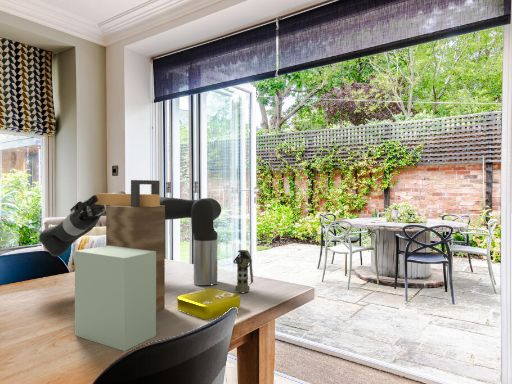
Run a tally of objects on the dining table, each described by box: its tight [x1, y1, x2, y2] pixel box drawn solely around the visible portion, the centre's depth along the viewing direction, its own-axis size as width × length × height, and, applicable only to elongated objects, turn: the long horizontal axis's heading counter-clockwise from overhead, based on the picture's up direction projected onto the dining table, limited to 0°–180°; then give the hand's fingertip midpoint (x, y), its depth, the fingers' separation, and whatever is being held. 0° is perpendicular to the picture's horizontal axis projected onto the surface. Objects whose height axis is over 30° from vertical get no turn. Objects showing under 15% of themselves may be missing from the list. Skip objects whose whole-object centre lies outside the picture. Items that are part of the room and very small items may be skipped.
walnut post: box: [105, 205, 166, 312], centre depth 112 cm, size 12×12×32 cm
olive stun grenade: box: [233, 249, 254, 293], centre depth 132 cm, size 6×7×15 cm
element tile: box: [176, 287, 241, 321], centre depth 115 cm, size 15×15×5 cm
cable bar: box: [95, 192, 161, 207], centre depth 114 cm, size 24×4×4 cm, turn 61°
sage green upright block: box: [74, 245, 157, 352], centre depth 94 cm, size 18×10×22 cm, turn 61°
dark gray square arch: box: [130, 179, 161, 207], centre depth 110 cm, size 2×10×8 cm, turn 151°
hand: (107, 197), depth 118 cm, fingers open, 8 cm apart
